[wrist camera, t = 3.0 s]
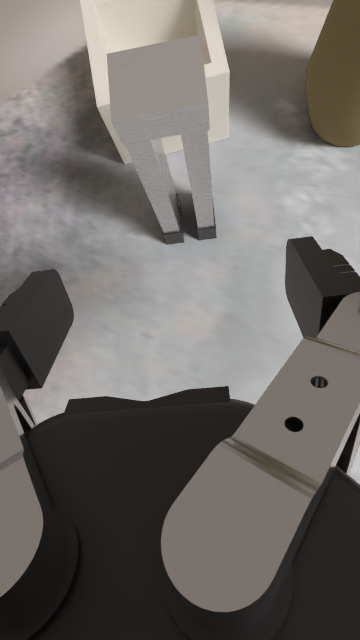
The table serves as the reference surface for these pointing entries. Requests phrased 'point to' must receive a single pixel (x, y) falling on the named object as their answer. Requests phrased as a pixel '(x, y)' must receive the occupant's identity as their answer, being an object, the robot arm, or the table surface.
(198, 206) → the grey arch block
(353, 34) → the squeeze bottle
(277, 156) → the table surface
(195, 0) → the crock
